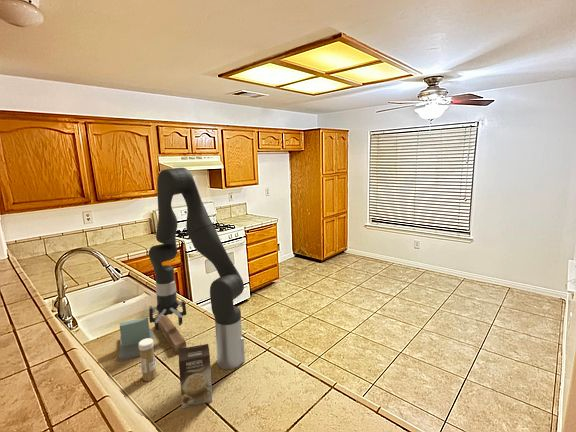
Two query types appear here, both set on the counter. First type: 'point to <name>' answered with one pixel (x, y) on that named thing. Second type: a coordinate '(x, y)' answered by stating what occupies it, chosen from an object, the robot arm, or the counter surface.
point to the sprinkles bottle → (147, 359)
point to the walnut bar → (171, 334)
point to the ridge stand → (133, 337)
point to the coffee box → (195, 375)
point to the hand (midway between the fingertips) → (169, 327)
